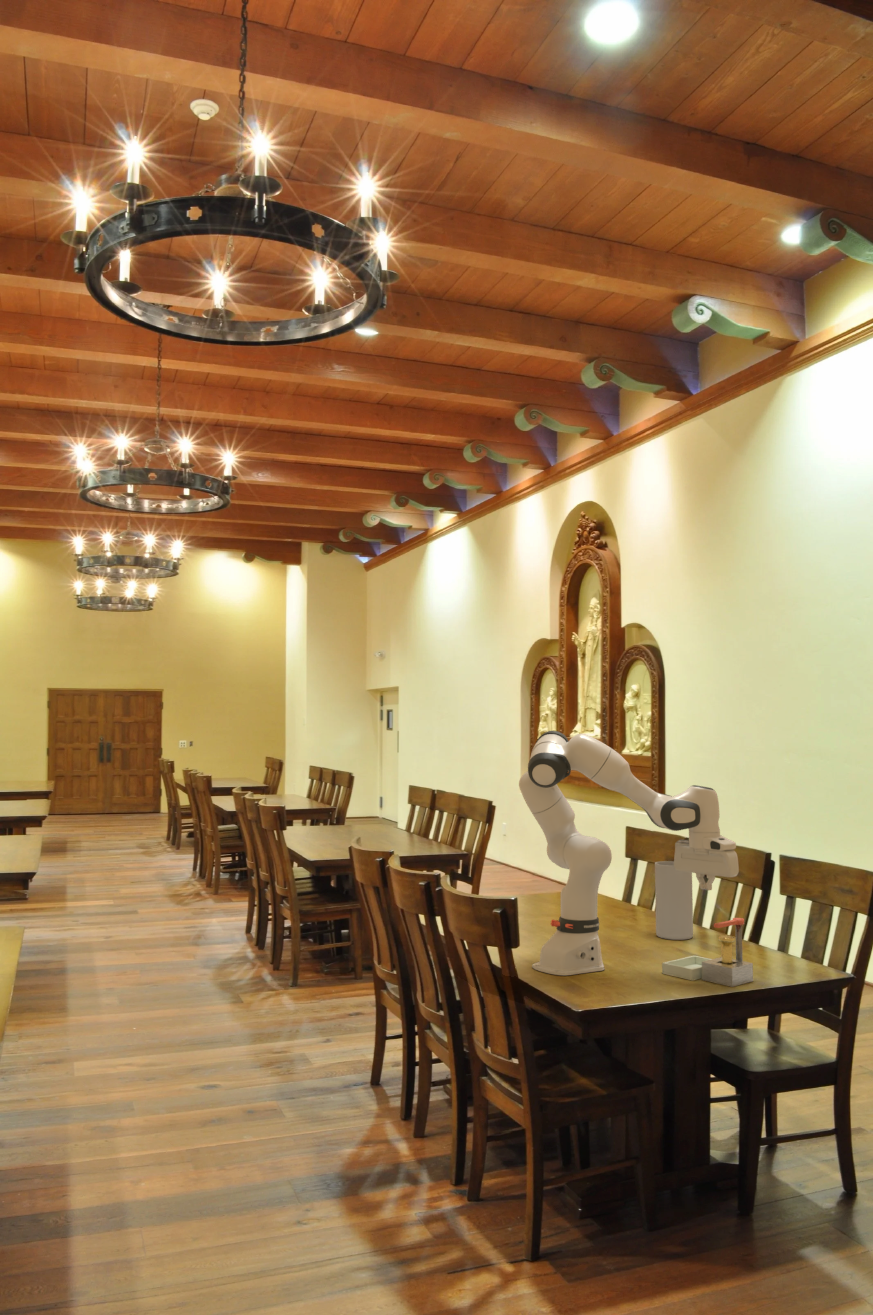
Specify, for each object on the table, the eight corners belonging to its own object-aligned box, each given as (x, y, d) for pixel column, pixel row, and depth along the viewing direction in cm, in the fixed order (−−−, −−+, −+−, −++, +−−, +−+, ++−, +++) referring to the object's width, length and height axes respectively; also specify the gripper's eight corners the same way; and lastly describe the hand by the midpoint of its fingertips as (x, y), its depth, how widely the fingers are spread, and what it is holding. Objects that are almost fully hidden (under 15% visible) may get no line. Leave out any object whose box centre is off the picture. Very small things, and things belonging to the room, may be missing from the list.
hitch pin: (729, 983, 272) (728, 939, 273) (716, 980, 275) (715, 937, 276) (738, 981, 275) (737, 937, 276) (725, 978, 278) (724, 935, 279)
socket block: (732, 987, 268) (731, 932, 269) (702, 980, 276) (701, 927, 277) (758, 980, 276) (756, 927, 277) (727, 973, 284) (726, 921, 285)
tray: (692, 980, 275) (692, 969, 275) (662, 973, 283) (662, 963, 283) (724, 972, 285) (724, 961, 285) (694, 965, 293) (694, 955, 293)
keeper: (736, 922, 282) (736, 917, 282) (746, 924, 280) (746, 919, 280) (711, 927, 275) (711, 922, 275) (721, 929, 272) (721, 924, 272)
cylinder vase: (690, 933, 341) (688, 861, 343) (696, 941, 329) (694, 866, 331) (653, 932, 342) (652, 861, 344) (658, 940, 330) (657, 865, 332)
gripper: (668, 839, 288) (670, 886, 287) (728, 845, 272) (729, 895, 271) (681, 837, 292) (683, 884, 291) (741, 843, 276) (742, 892, 275)
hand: (706, 889), depth 281 cm, fingers closed
